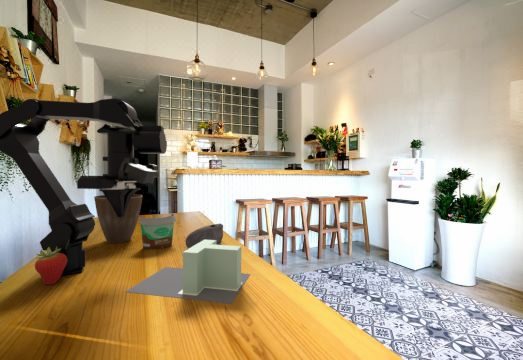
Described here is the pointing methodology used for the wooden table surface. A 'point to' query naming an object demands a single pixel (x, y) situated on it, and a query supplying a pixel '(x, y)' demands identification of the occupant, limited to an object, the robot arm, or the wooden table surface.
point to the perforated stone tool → (205, 235)
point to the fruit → (50, 265)
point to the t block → (211, 267)
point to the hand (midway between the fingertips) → (120, 217)
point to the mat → (172, 286)
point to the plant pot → (118, 219)
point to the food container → (157, 231)
